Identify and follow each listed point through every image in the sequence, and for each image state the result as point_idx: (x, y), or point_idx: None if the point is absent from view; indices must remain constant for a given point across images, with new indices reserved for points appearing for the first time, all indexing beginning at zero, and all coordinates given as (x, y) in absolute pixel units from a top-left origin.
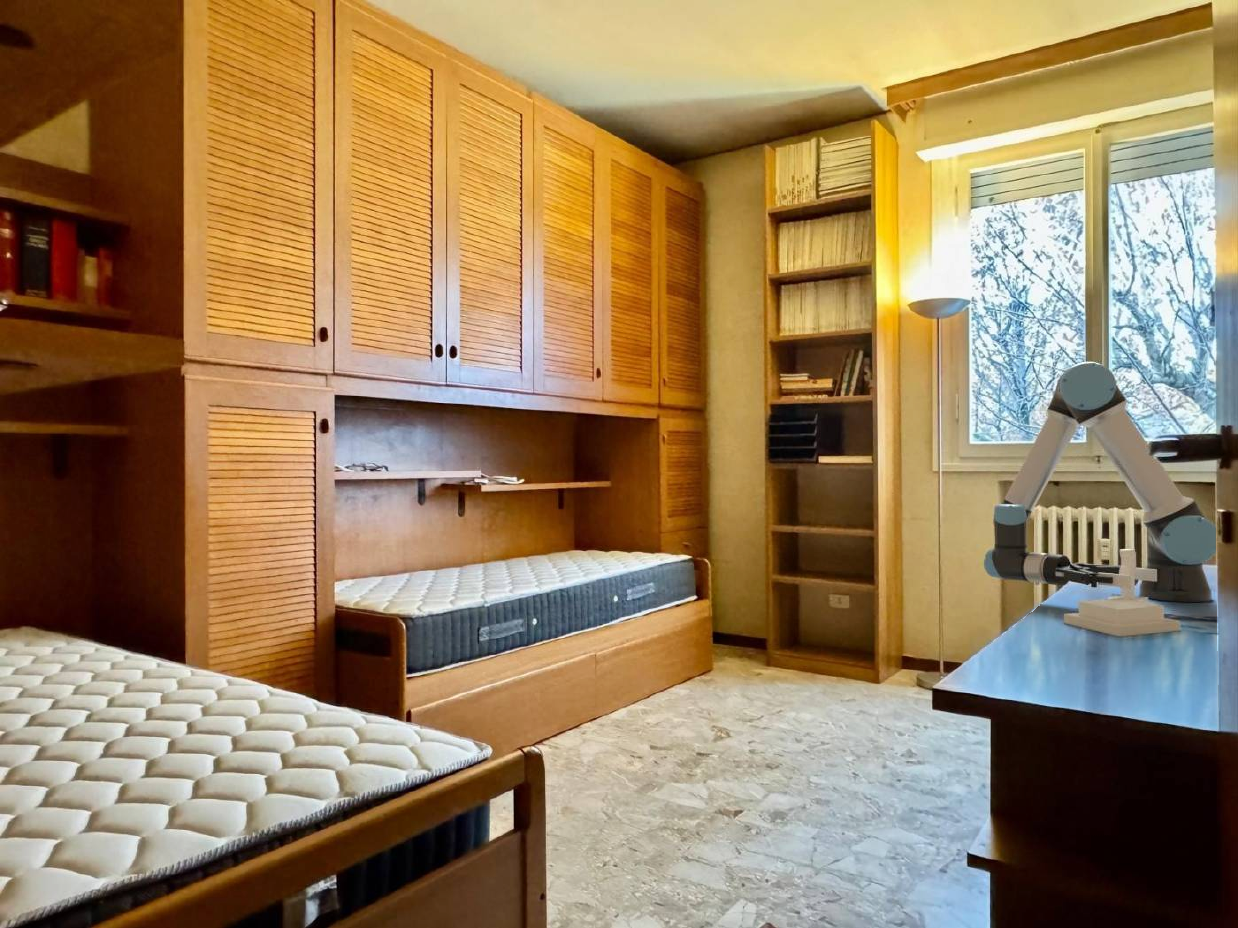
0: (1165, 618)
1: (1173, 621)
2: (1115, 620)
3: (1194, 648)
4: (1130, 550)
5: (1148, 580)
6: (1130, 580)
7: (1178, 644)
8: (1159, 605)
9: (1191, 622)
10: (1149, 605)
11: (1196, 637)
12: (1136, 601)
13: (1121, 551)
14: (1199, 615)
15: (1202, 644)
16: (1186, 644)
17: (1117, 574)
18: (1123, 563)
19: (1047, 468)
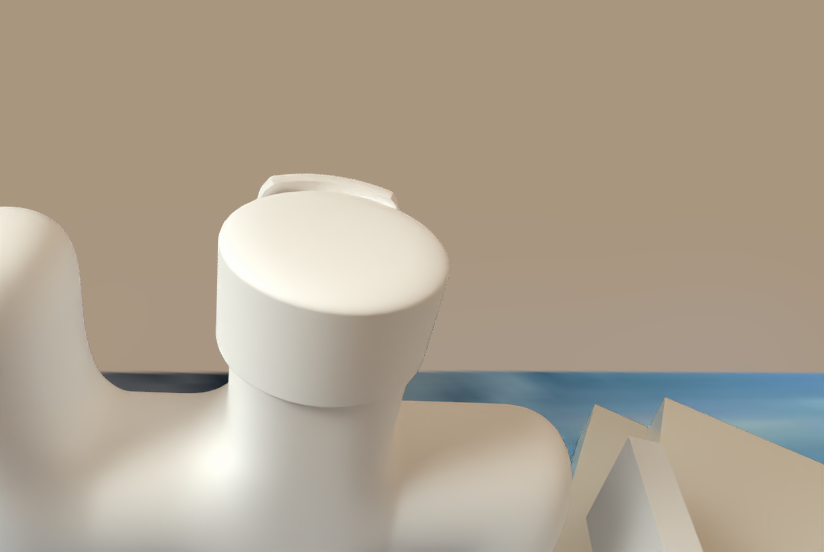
0: (595, 450)
1: (634, 422)
2: None
3: (810, 395)
4: (404, 215)
5: None
6: (612, 472)
7: (815, 429)
8: (682, 411)
9: None
10: (734, 445)
11: (649, 394)
12: (689, 513)
13: (434, 306)
14: None
15: (733, 381)
16: (786, 412)
17: (678, 543)
18: (388, 446)
19: None
